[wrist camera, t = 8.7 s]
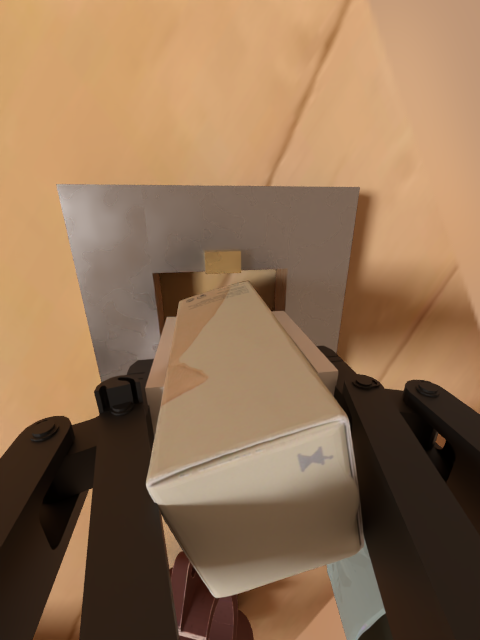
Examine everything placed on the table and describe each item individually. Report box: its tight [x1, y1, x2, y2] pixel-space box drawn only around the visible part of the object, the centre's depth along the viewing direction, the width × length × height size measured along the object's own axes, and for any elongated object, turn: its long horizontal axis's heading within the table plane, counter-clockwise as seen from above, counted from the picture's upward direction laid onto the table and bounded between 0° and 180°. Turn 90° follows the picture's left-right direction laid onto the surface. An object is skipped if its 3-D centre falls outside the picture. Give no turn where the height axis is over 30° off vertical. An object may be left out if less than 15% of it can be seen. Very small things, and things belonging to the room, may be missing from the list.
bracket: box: [169, 551, 254, 640], centre depth 27 cm, size 6×17×10 cm, turn 20°
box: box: [146, 281, 364, 598], centre depth 11 cm, size 5×4×11 cm
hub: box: [56, 184, 360, 382], centre depth 18 cm, size 16×16×3 cm
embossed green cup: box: [327, 535, 393, 640], centre depth 21 cm, size 10×10×12 cm
